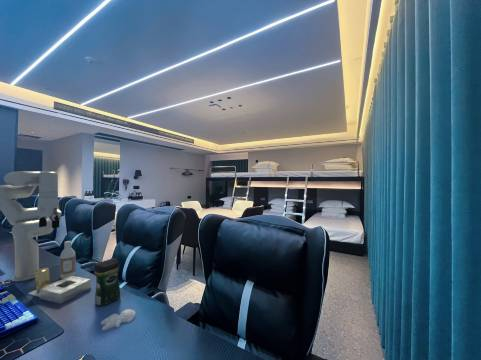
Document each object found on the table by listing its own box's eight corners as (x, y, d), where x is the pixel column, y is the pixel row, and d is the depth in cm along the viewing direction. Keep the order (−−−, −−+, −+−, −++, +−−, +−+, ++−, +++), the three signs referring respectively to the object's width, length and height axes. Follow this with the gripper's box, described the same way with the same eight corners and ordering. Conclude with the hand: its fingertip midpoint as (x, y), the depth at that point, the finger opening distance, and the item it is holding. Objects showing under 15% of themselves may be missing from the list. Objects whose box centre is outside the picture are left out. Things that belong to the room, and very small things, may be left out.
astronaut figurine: (100, 321, 84) (100, 313, 84) (133, 309, 91) (133, 302, 91) (101, 334, 77) (101, 326, 77) (137, 321, 84) (137, 313, 84)
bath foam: (59, 280, 117) (58, 244, 116) (61, 275, 122) (60, 241, 122) (75, 277, 120) (74, 242, 120) (76, 272, 126) (75, 239, 126)
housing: (39, 298, 99) (39, 289, 99) (71, 284, 112) (70, 275, 112) (60, 303, 95) (60, 293, 95) (90, 288, 108) (90, 279, 108)
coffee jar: (114, 293, 104) (114, 255, 103) (122, 298, 99) (122, 258, 99) (91, 302, 96) (91, 262, 95) (99, 308, 91) (99, 266, 91)
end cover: (33, 292, 104) (32, 272, 103) (45, 286, 109) (44, 267, 108) (41, 293, 103) (40, 273, 102) (52, 288, 107) (51, 268, 107)
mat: (28, 294, 103) (28, 293, 103) (47, 285, 111) (47, 285, 111) (39, 296, 101) (39, 295, 101) (57, 288, 108) (57, 287, 108)
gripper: (28, 195, 111) (29, 227, 111) (52, 196, 106) (52, 230, 106) (45, 194, 118) (46, 224, 118) (68, 194, 113) (68, 226, 113)
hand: (49, 227), depth 112 cm, fingers open, 9 cm apart
